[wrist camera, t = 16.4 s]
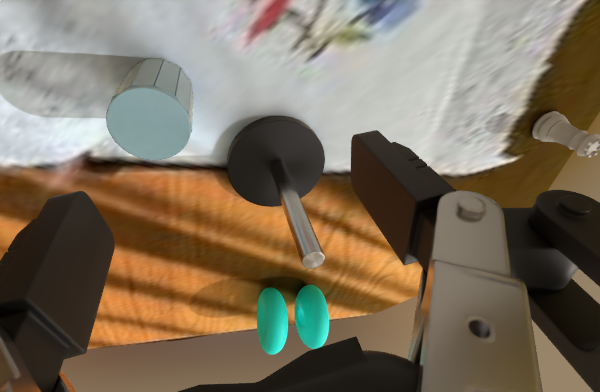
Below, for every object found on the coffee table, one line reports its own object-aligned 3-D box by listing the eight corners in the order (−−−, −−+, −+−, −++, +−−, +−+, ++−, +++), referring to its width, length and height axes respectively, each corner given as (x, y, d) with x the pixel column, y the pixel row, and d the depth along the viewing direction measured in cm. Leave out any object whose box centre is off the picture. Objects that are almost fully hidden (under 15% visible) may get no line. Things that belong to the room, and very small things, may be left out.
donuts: (305, 308, 60) (321, 359, 52) (253, 312, 57) (261, 368, 49) (318, 271, 55) (337, 323, 47) (261, 274, 51) (272, 330, 44)
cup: (119, 102, 31) (96, 142, 24) (139, 45, 29) (120, 72, 22) (179, 128, 34) (174, 170, 27) (202, 78, 32) (202, 110, 25)
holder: (210, 181, 39) (215, 294, 26) (256, 97, 34) (292, 180, 21) (290, 210, 45) (327, 314, 32) (339, 141, 40) (407, 228, 27)
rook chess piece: (555, 129, 49) (607, 153, 43) (528, 142, 49) (576, 169, 43) (559, 104, 46) (615, 126, 40) (531, 118, 46) (582, 143, 40)
